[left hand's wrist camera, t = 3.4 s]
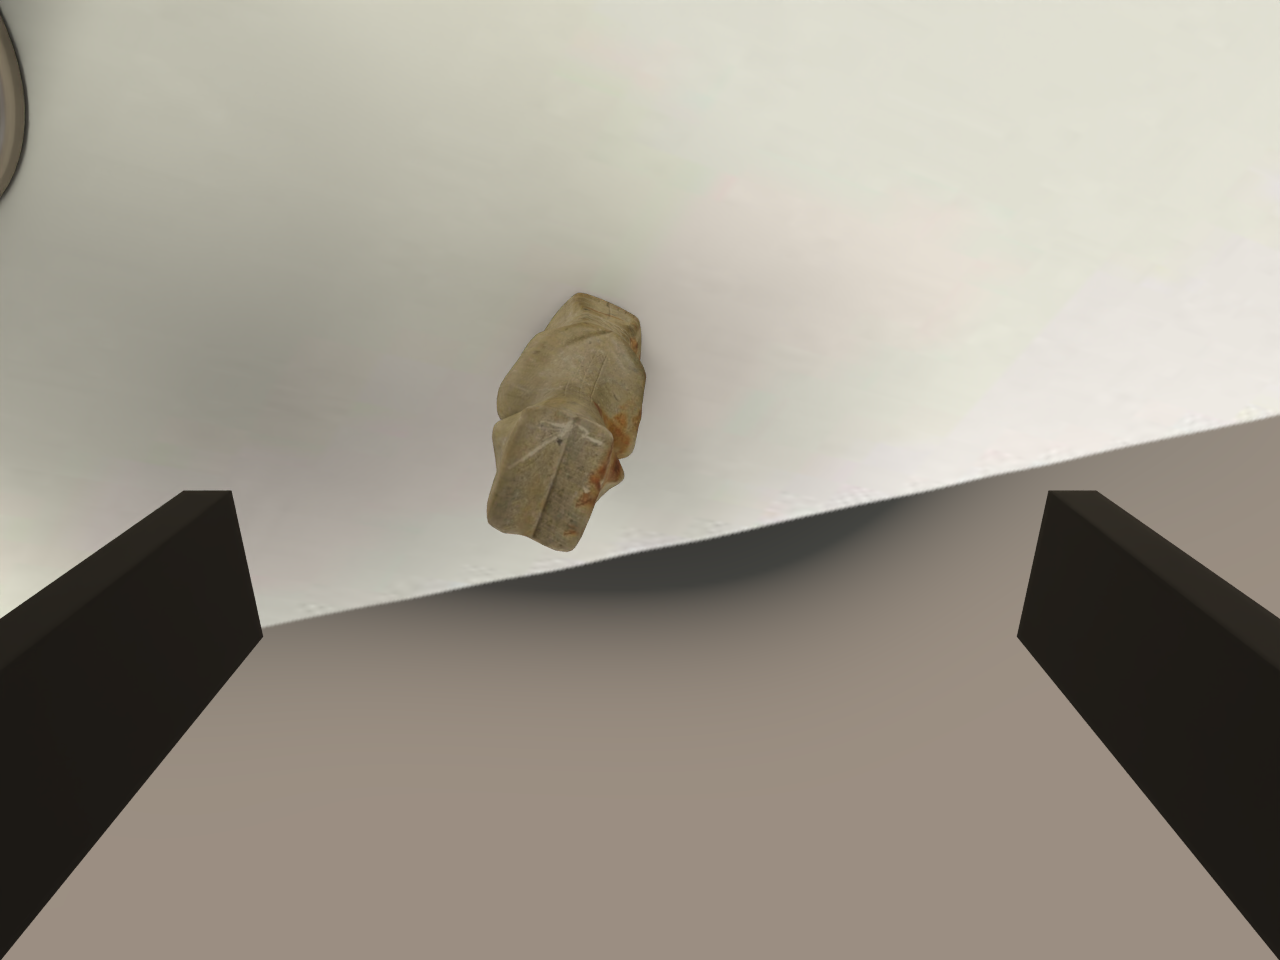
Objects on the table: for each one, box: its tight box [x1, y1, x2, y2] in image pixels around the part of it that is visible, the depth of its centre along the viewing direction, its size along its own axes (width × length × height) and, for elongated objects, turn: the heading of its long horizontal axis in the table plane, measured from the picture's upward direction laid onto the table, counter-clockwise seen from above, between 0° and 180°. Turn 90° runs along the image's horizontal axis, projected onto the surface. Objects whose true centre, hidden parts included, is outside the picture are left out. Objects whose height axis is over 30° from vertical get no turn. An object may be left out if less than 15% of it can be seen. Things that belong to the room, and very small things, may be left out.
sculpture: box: [487, 293, 646, 552], centre depth 32 cm, size 6×7×15 cm
